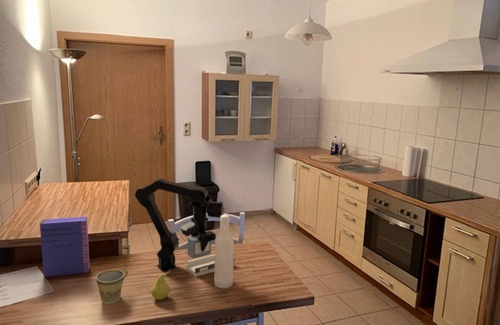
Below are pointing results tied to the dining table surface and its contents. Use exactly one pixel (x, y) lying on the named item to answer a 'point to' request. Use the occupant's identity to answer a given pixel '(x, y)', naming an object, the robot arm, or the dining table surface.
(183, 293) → the dining table surface
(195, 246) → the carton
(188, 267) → the shelf
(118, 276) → the ceramic cup
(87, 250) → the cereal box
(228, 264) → the bottle
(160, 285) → the fruit
